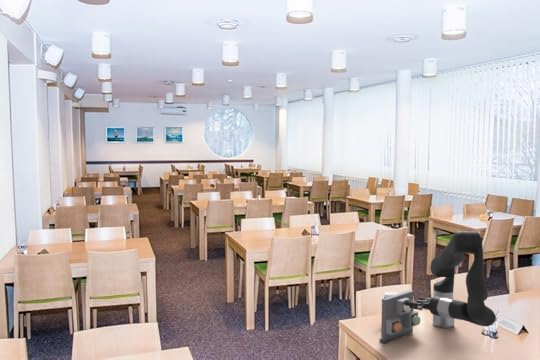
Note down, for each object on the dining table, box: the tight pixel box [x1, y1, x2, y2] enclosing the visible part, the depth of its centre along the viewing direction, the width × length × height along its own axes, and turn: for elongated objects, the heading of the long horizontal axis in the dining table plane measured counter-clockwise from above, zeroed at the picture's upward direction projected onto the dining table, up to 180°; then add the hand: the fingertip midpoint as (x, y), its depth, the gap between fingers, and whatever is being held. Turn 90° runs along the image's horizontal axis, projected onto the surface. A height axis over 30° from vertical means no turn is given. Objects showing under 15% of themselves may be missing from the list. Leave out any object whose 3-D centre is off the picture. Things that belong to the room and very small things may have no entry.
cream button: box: [402, 302, 412, 313], centre depth 217 cm, size 2×4×4 cm, turn 129°
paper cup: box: [383, 291, 399, 299], centre depth 243 cm, size 8×8×14 cm
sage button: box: [411, 315, 421, 326], centre depth 222 cm, size 2×4×4 cm, turn 129°
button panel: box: [379, 290, 419, 345], centre depth 220 cm, size 6×21×20 cm, turn 129°
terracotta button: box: [392, 322, 402, 333], centre depth 213 cm, size 2×4×4 cm, turn 129°
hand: (412, 301), depth 206 cm, fingers open, 8 cm apart
